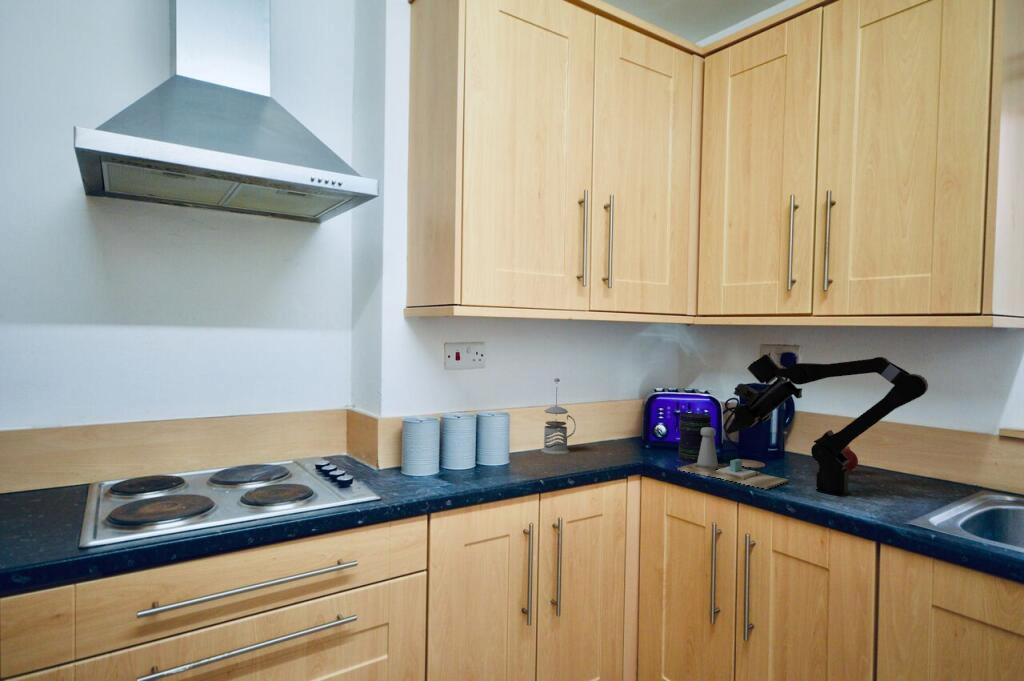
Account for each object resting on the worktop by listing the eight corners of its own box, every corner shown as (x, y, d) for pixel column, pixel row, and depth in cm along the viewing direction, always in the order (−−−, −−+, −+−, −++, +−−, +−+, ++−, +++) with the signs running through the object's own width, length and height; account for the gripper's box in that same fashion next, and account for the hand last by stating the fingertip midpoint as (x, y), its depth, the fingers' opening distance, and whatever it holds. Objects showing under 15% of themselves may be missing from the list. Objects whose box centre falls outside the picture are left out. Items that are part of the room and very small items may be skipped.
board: (788, 482, 162) (788, 476, 162) (767, 489, 153) (767, 483, 153) (700, 464, 182) (700, 459, 182) (677, 470, 173) (677, 464, 173)
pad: (770, 465, 183) (770, 463, 183) (755, 469, 177) (755, 468, 177) (740, 459, 191) (740, 458, 191) (725, 463, 184) (725, 462, 184)
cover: (755, 474, 166) (756, 460, 166) (742, 479, 161) (743, 464, 161) (729, 469, 172) (730, 456, 172) (715, 473, 167) (716, 459, 167)
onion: (856, 475, 171) (857, 449, 171) (834, 472, 175) (835, 446, 175) (858, 472, 176) (859, 446, 176) (837, 469, 179) (837, 443, 179)
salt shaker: (710, 474, 169) (711, 430, 169) (693, 470, 173) (694, 427, 173) (721, 471, 173) (722, 428, 173) (703, 467, 177) (704, 425, 177)
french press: (541, 447, 203) (543, 376, 203) (574, 448, 202) (576, 377, 202) (540, 453, 194) (541, 378, 193) (575, 454, 192) (576, 379, 192)
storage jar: (673, 460, 186) (674, 414, 186) (686, 456, 194) (687, 412, 194) (702, 466, 180) (704, 418, 180) (715, 461, 187) (716, 415, 187)
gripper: (762, 373, 172) (723, 406, 179) (742, 376, 158) (701, 412, 165) (789, 402, 168) (749, 435, 175) (772, 407, 153) (728, 443, 160)
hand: (732, 430), depth 169 cm, fingers open, 9 cm apart
